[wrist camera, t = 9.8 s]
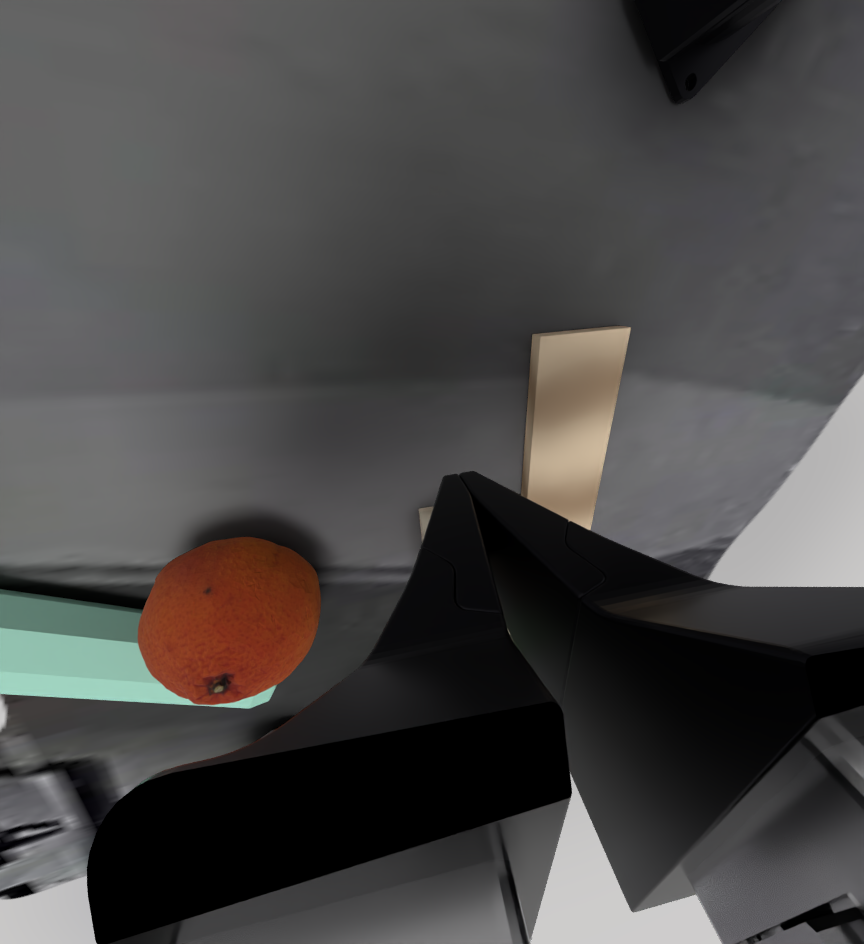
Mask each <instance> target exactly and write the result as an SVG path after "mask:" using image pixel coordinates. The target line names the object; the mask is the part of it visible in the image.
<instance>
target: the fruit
mask: <svg viewBox="0 0 864 944" xmlns="http://www.w3.org/2000/svg"><path fill="white" fill-rule="evenodd" d="M320 609H321V595H320V588H319V580H318V576H317V573H316V571H315V570H314V568H313V567H312V566H311V565H310V564H309V563H308V562H307V561H306V560H305V559H304V558H303V557H302V556H300V555H298V554H297V553H296V552H295V551H293V550H291V549H289V548H287V547H284V546H279V545H277V544H275V543H273V542H271V541H267V540H264V539H259V538H254V537H237V538H231V539H224V540H216V541H211V542H208V543H206V544H204V545H202V546H199V547H197V548H195V549H193V550H190V551H188V552H187V553H185V554H183V555H181V556H179V557H177V558H175V559H174V560H172V561H171V562H169V563H168V564H167V565H166V566H165V567H164V568H163V569H162V571H161V572H160V573H159V574H158V576H157V577H156V579H155V584H154V586H153V588H152V590H151V593H150V595H149V597H148V599H147V601H146V604H145V606H144V609H143V612H142V614H141V617H140V621H139V626H138V646H139V649H140V652H141V655H142V657H143V659H144V662H145V664H146V667H147V669H148V670H149V672H150V673H151V675H152V676H153V677H154V678H155V679H157V680H158V681H159V682H160V683H161V684H162V685H163V686H164V687H165V688H166V689H168V690H169V691H171V692H173V693H175V694H176V695H177V696H179V697H182V698H185V699H189V700H190V701H191V702H192V703H194V704H198V705H217V704H227V703H234V702H237V701H240V700H242V699H245V698H249V697H252V696H255V695H257V694H259V693H261V692H263V691H265V690H267V689H269V688H271V687H273V686H275V685H277V684H279V683H280V682H282V681H283V680H284V679H285V678H286V677H288V676H289V675H290V674H291V673H292V672H293V670H294V669H295V668H296V667H297V666H298V664H299V663H300V662H301V661H302V660H303V659H304V657H305V656H306V654H307V653H308V651H309V649H310V647H311V645H312V643H313V641H314V638H315V635H316V631H317V628H318V623H319V617H320Z"/></svg>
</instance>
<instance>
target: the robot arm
mask: <svg viewBox="0 0 864 944" xmlns="http://www.w3.org/2000/svg"><path fill="white" fill-rule="evenodd" d="M781 1H782V0H635V3H636V5H637V8H638V10H639V13H640V16H641V18H642V21H643V23H644V26H645V29H646V31H647V34H648V36H649V39H650V42H651V44H652V47H653V49H654V52H655V54H656V57H657V60H658V62H659V65H660V67H661V70H662V73H663V75H664V78H665V80H666V83H667V85H668V88H669V91H670V93H671V96H672V98H673V100H674V101H675V103H678V104H681V103H684V102H686V101H688V100H689V99H691V98H692V97H694V96H695V95H696V94H697V93H698V92H699V91H700V89H701V88H702V87H703V86H704V85H705V84H706V83H707V82H708V81H709V80H710V79H711V77H712V76H713V75H714V74H715V73H716V72H717V71H718V70H719V69H720V68H721V66H722V65H723V64H724V63H725V62H726V61H727V60H728V59H729V58H730V57H731V56H732V54H733V53H734V52H735V51H736V50H737V49H738V48H739V47H740V46H741V45H742V44H743V42H744V41H745V40H746V39H747V38H748V37H749V36H750V35H751V34H752V33H753V31H754V30H755V29H756V28H757V27H758V26H759V25H760V24H761V23H762V22H763V21H764V19H765V18H766V17H767V16H768V15H769V14H770V13H771V12H772V11H773V10H774V8H775V7H776V6H777V5H778V4H779V3H780V2H781ZM686 79H687V80H688V83H689V87H688V90H686V89H685V81H686ZM509 633H510V634H509ZM510 635H511V637H512V639H511V637H510ZM570 773H571V775H572V777H573V780H574V782H575V784H576V786H577V789H578V791H579V793H580V795H581V798H582V800H583V803H584V805H585V807H586V809H587V812H588V814H589V816H590V819H591V821H592V823H593V825H594V828H595V830H596V832H597V834H598V837H599V839H600V841H601V844H602V846H603V848H604V851H605V853H606V855H607V857H608V860H609V862H610V864H611V866H612V869H613V871H614V874H615V876H616V878H617V880H618V883H619V885H620V887H621V890H622V892H623V894H624V896H625V898H626V901H627V903H628V905H629V907H630V909H631V911H632V912H637V911H641V910H644V909H647V908H651V907H655V906H658V905H661V904H665V903H668V902H672V901H675V900H678V899H682V898H685V897H689V896H692V895H695V894H696V895H697V897H698V899H699V901H700V903H701V905H702V906H703V908H704V910H705V912H706V914H707V916H708V918H709V920H710V922H711V924H712V925H713V927H714V929H715V931H716V933H717V935H718V937H719V939H720V941H721V942H722V944H864V587H742V586H734V585H727V584H722V583H717V582H713V581H710V580H706V579H703V578H700V577H698V576H695V575H692V574H690V573H688V572H685V571H683V570H680V569H678V568H676V567H673V566H671V565H668V564H666V563H664V562H661V561H659V560H656V559H654V558H652V557H649V556H647V555H644V554H642V553H640V552H637V551H635V550H632V549H630V548H628V547H625V546H623V545H621V544H619V543H616V542H614V541H612V540H609V539H607V538H605V537H603V536H601V535H599V534H597V533H595V532H592V531H590V530H588V529H586V528H584V527H582V526H580V525H578V524H576V523H574V522H572V521H569V520H568V519H566V518H564V517H563V516H561V515H559V514H557V513H555V512H553V511H551V510H549V509H547V508H545V507H543V506H541V505H539V504H537V503H535V502H533V501H531V500H529V499H527V498H525V497H523V496H522V495H520V494H518V493H516V492H514V491H512V490H510V489H508V488H506V487H504V486H502V485H500V484H498V483H496V482H494V481H492V480H490V479H488V478H486V477H484V476H483V475H481V474H479V473H477V472H474V471H470V472H464V473H460V474H459V475H458V474H452V475H446V476H444V477H443V479H442V482H441V485H440V488H439V491H438V494H437V498H436V501H435V504H434V507H433V510H432V513H431V516H430V520H429V523H428V526H427V529H426V532H425V535H424V539H423V542H422V545H421V549H420V551H419V554H418V557H417V560H416V563H415V565H414V568H413V571H412V573H411V576H410V578H409V580H408V582H407V585H406V587H405V589H404V591H403V593H402V595H401V597H400V599H399V601H398V603H397V605H396V607H395V609H394V611H393V613H392V614H391V616H390V618H389V620H388V622H387V624H386V626H385V628H384V630H383V632H382V634H381V636H380V638H379V640H378V642H377V643H376V645H375V647H374V649H373V650H372V652H371V653H370V655H369V656H368V658H367V659H366V660H365V662H364V663H363V664H362V665H361V666H360V667H359V668H358V669H357V670H356V671H354V672H353V673H352V674H350V675H349V676H348V677H346V678H345V679H344V680H342V681H341V682H340V683H338V684H337V685H336V686H334V687H333V688H331V689H330V690H329V691H327V692H326V693H325V694H323V695H322V696H321V697H319V698H318V699H317V700H315V701H314V702H313V703H311V704H310V705H309V706H307V707H306V708H305V709H303V710H302V711H301V712H299V713H298V714H297V715H295V716H294V717H293V718H291V719H290V720H289V721H287V722H286V723H284V724H283V725H282V726H280V727H279V728H277V729H276V730H274V731H273V732H271V733H270V734H268V735H267V736H265V737H263V738H261V739H259V740H257V741H255V742H254V743H252V744H250V745H248V746H245V747H243V748H241V749H238V750H236V751H233V752H231V753H228V754H225V755H221V756H218V757H215V758H211V759H207V760H202V761H198V762H193V763H189V764H184V765H181V766H177V767H174V768H171V769H167V770H164V771H162V772H160V773H157V774H155V775H153V776H151V777H149V778H147V779H146V780H144V781H143V782H141V783H140V784H139V785H138V786H136V787H135V788H134V789H133V790H131V791H130V792H129V793H128V794H126V795H125V796H124V797H123V798H122V799H120V800H119V801H118V802H117V803H116V804H115V805H114V807H113V808H112V809H111V810H110V811H109V813H108V814H107V815H106V817H105V819H104V820H103V822H102V824H101V825H100V827H99V829H98V831H97V833H96V835H95V838H94V841H93V844H92V847H91V850H90V853H89V859H88V865H87V888H88V898H89V904H90V910H91V916H92V922H93V928H94V934H95V940H96V943H97V944H530V941H531V937H532V933H533V930H534V926H535V923H536V919H537V916H538V912H539V908H540V905H541V901H542V897H543V894H544V891H545V887H546V884H547V880H548V876H549V873H550V869H551V866H552V862H553V859H554V855H555V852H556V848H557V844H558V841H559V837H560V834H561V830H562V827H563V823H564V819H565V815H566V812H567V809H568V805H569V801H570V798H571V794H572V788H571V780H570Z"/></svg>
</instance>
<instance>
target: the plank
mask: <svg viewBox="0 0 864 944" xmlns="http://www.w3.org/2000/svg"><path fill="white" fill-rule="evenodd" d="M630 330H631V327H625V326H610V327H600V328H590V329H580V330H570V331H560V332H550V333H540V334H532V346H531V360H530V374H529V388H528V403H527V417H526V431H525V445H524V459H523V474H522V488H521V495H522V496H523V497H525V498H527V499H529V500H531V501H533V502H535V503H537V504H539V505H541V506H543V507H545V508H547V509H549V510H551V511H553V512H555V513H557V514H559V515H561V516H563V517H564V518H566V519H568V520H569V521H572V522H574V523H576V524H578V525H580V526H582V527H584V528H586V529H588V530H590V529H591V524H592V519H593V514H594V509H595V504H596V499H597V494H598V489H599V484H600V479H601V474H602V469H603V464H604V459H605V454H606V449H607V445H608V440H609V435H610V430H611V425H612V420H613V415H614V410H615V405H616V400H617V395H618V390H619V385H620V380H621V375H622V370H623V365H624V360H625V355H626V350H627V345H628V340H629V335H630ZM511 639H512V637H511Z"/></svg>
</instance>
